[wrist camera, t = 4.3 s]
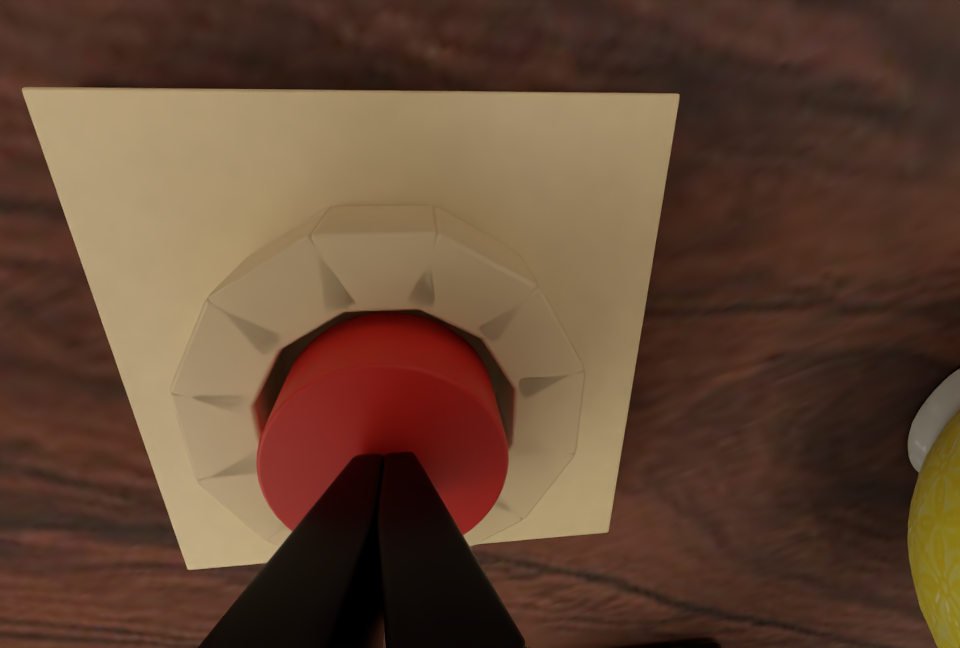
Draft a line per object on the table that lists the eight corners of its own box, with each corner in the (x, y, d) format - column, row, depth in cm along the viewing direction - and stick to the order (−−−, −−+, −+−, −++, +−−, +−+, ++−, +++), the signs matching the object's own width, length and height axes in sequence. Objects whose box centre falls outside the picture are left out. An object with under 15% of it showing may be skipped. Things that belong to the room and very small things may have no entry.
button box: (650, 93, 9) (746, 94, 7) (593, 497, 14) (637, 599, 11) (70, 87, 8) (-98, 86, 6) (206, 529, 12) (149, 650, 10)
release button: (495, 306, 8) (513, 358, 7) (490, 476, 10) (505, 551, 8) (267, 315, 8) (230, 371, 6) (300, 490, 9) (277, 572, 8)
